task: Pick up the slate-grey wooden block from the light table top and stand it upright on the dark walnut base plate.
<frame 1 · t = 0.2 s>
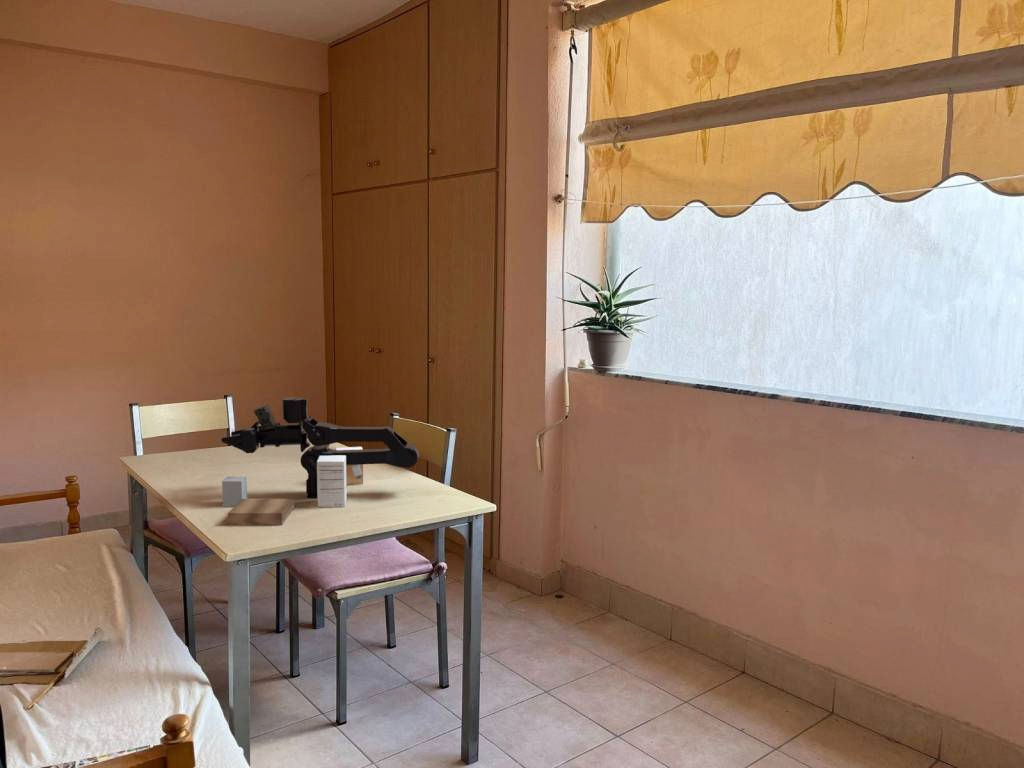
hand: (226, 436, 217), 17 cm above the table, tool horizontal, fingers open, 9 cm apart
small box: (349, 483, 235), on the table
grey block: (235, 504, 211), on the table
supplement box: (332, 504, 213), on the table
walnut base: (261, 517, 200), on the table
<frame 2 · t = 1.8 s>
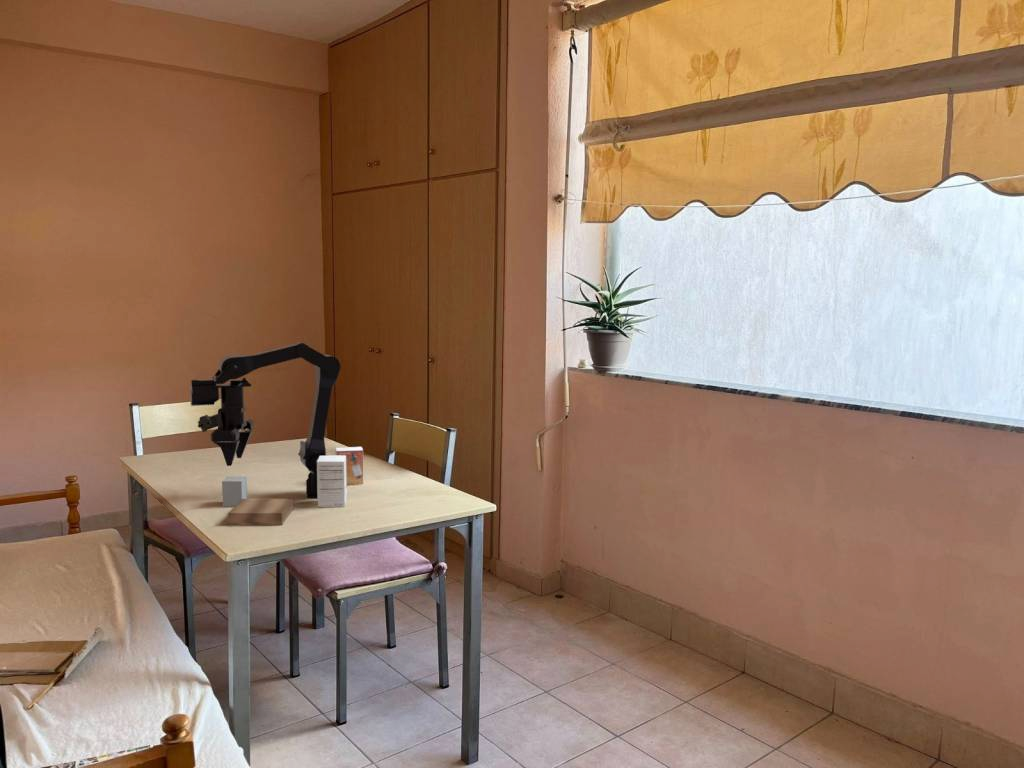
hand: (234, 461, 209), 12 cm above the table, tool pointing down, fingers open, 9 cm apart
nothing on the table moved.
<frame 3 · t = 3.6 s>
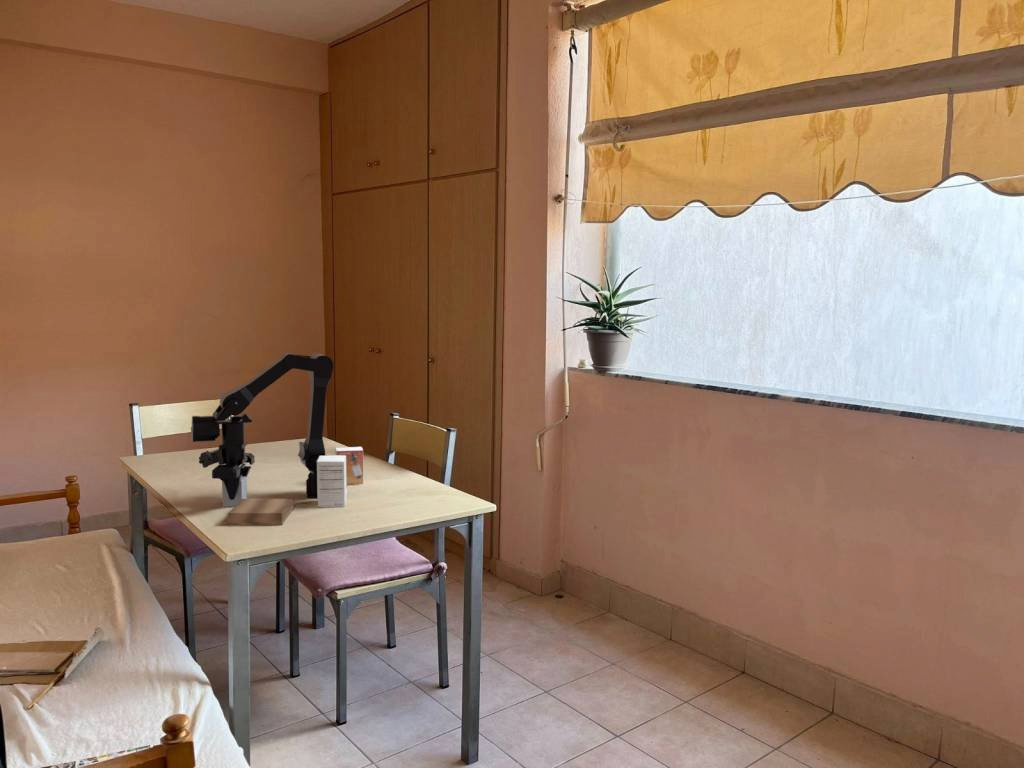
hand: (234, 496, 211), 2 cm above the table, tool pointing down, fingers closed on grey block, 5 cm apart
grey block: (235, 504, 211), on the table, touching gripper
everything else where it was.
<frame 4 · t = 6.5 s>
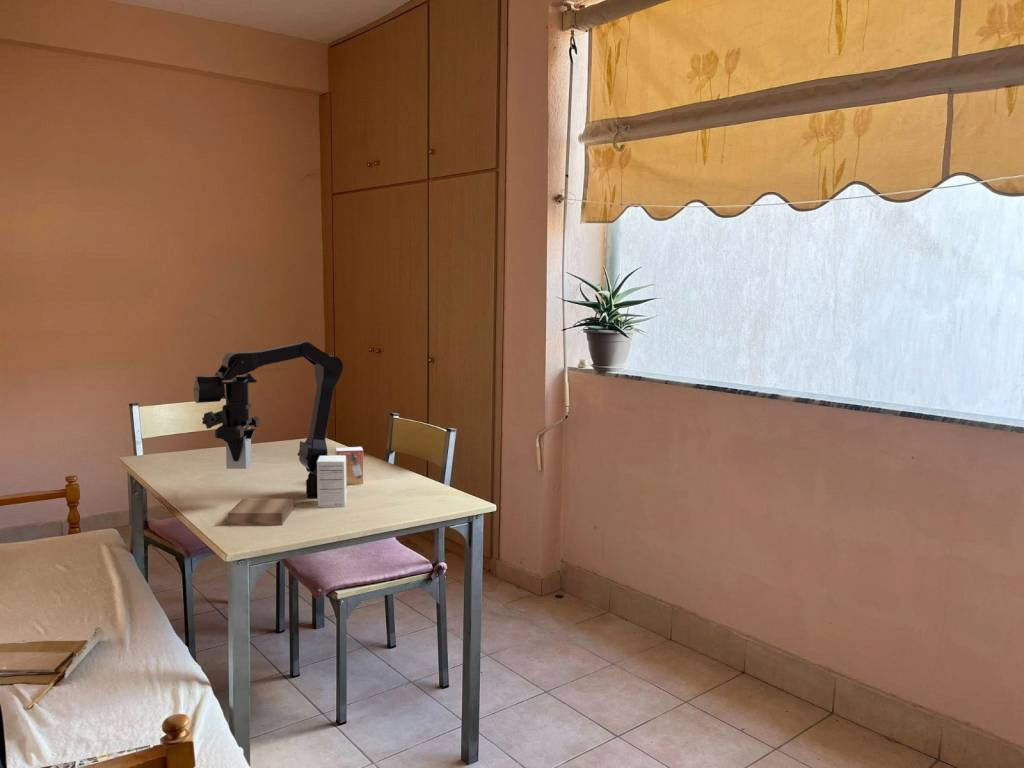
hand: (239, 458, 207), 13 cm above the table, tool pointing down, fingers closed on grey block, 5 cm apart
grey block: (239, 466, 207), point 11 cm above the table, touching gripper
everything else where it was.
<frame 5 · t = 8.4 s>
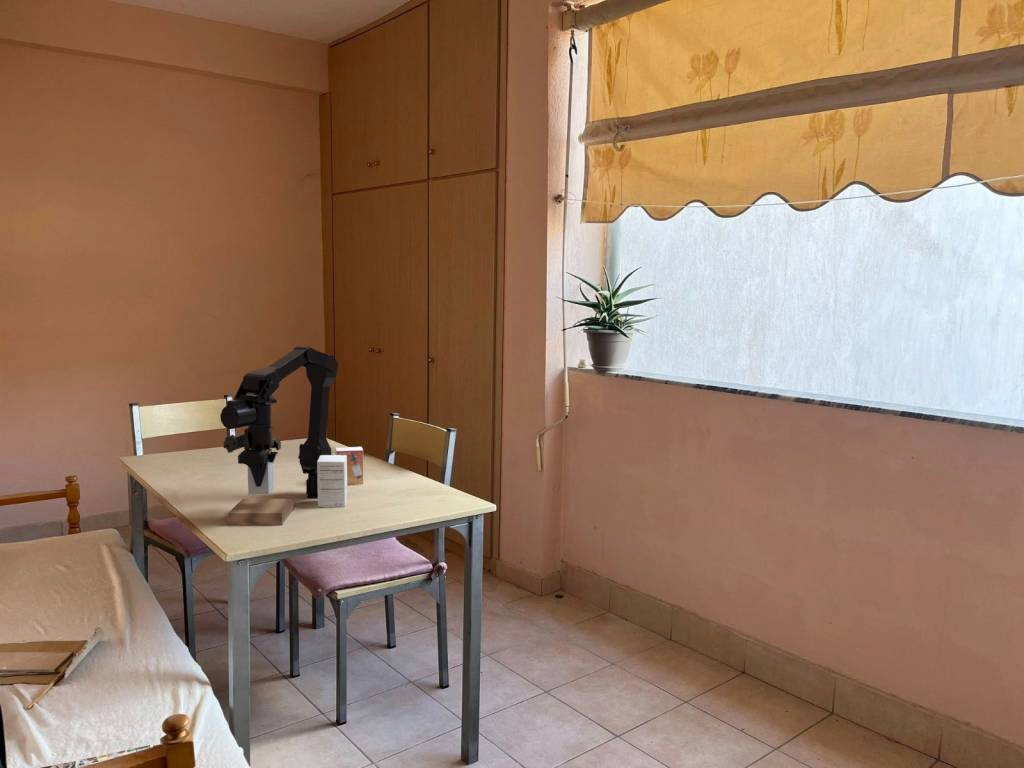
hand: (261, 483, 199), 9 cm above the table, tool pointing down, fingers closed on grey block, 5 cm apart
grey block: (261, 491, 199), point 7 cm above the table, touching gripper
supplement box: (332, 504, 213), on the table, touching arm
everything else where it was.
when the fingers open (6 cm above the table, at t = 9.7 s): grey block drops 1 cm, resting on walnut base.
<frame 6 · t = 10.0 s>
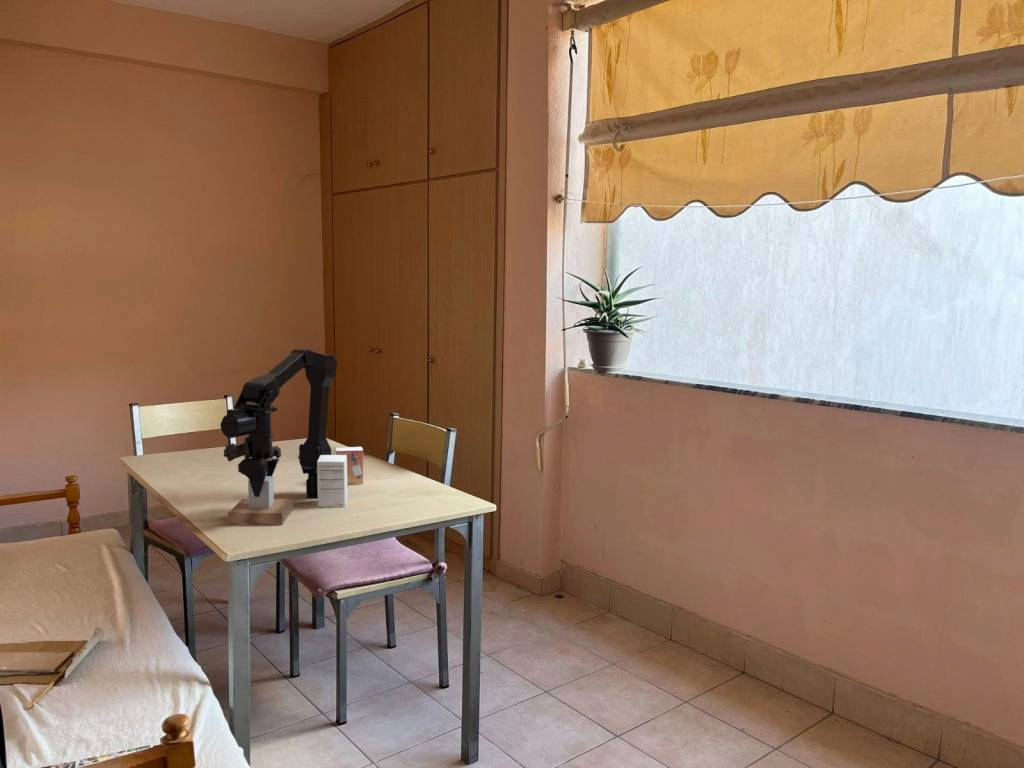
hand: (261, 492, 199), 6 cm above the table, tool pointing down, fingers open, 8 cm apart
grey block: (261, 505, 199), point 3 cm above the table, touching walnut base
everything else where it was.
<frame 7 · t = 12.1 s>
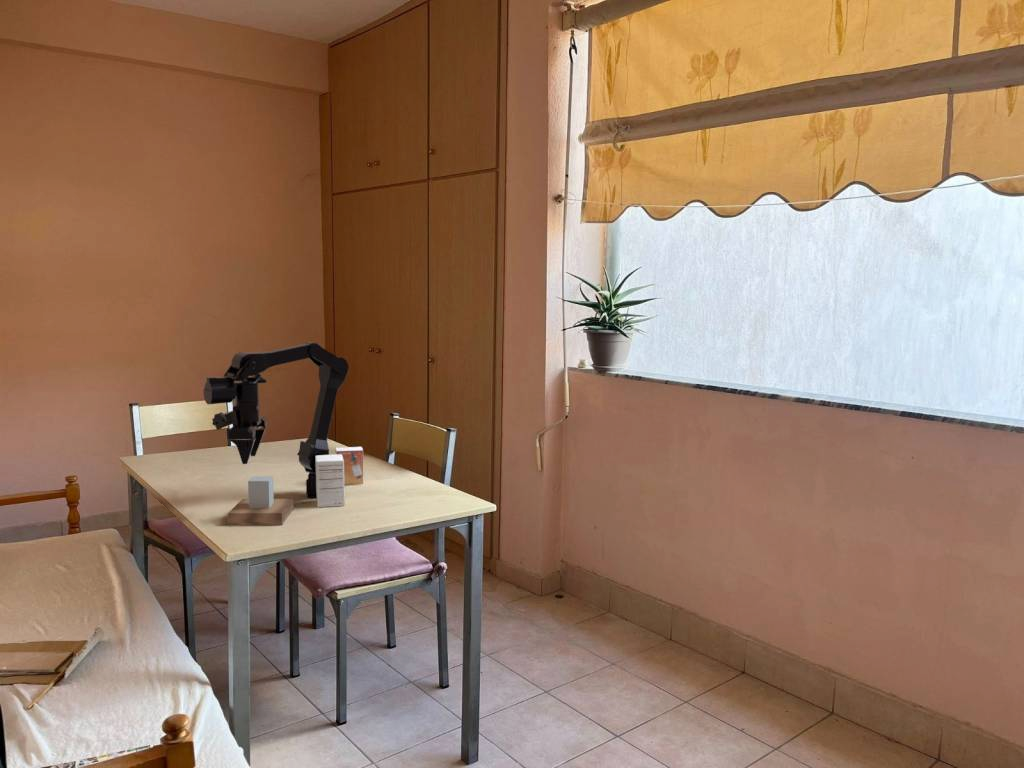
hand: (249, 459, 206), 13 cm above the table, tool pointing down, fingers open, 9 cm apart
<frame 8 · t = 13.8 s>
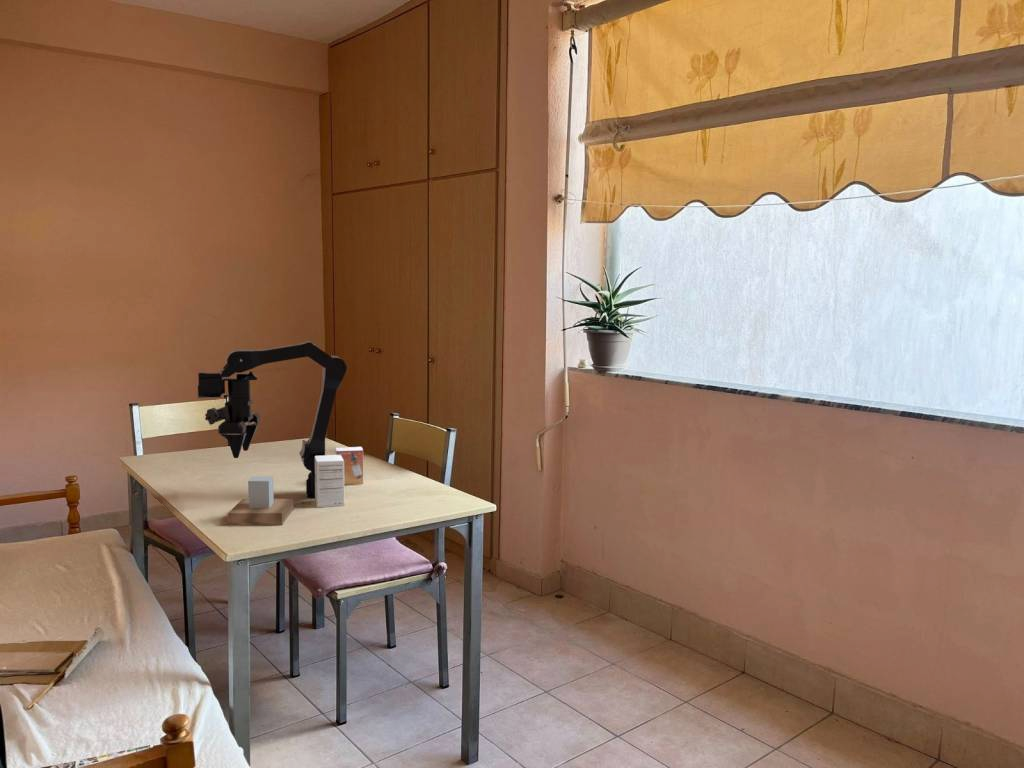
hand: (240, 454, 212), 13 cm above the table, tool pointing down, fingers open, 9 cm apart
supplement box: (329, 504, 213), on the table
everything else where it was.
at the end: grey block inside the target area on the walnut base (0.1 cm from its centre), point 3.0 cm above the walnut base's base; grey block tilted 0°; the gripper is holding nothing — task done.
